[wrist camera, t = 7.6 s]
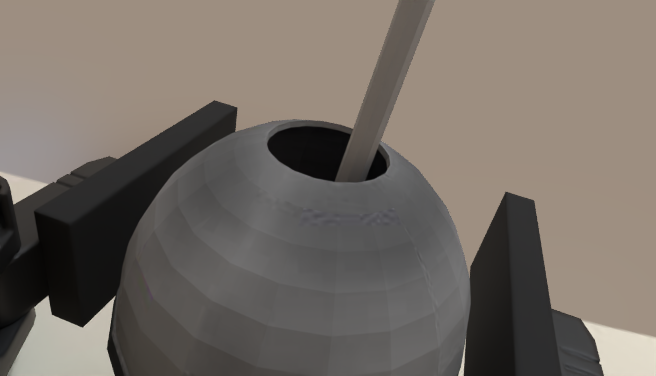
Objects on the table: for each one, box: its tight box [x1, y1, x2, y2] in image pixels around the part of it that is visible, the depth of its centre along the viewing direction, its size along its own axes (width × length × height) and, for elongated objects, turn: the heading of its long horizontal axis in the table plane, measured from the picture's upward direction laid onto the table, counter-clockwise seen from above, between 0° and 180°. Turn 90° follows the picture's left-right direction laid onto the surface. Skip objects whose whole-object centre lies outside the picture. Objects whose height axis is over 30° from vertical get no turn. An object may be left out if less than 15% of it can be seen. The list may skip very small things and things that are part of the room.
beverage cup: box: [107, 0, 471, 376], centre depth 11 cm, size 7×7×20 cm
